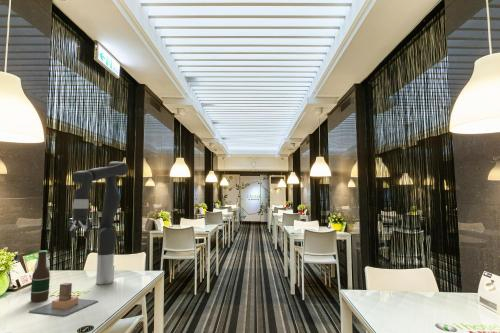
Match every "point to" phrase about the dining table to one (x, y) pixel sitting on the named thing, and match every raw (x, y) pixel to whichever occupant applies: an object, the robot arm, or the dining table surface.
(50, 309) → the socket holder
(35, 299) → the beer bottle
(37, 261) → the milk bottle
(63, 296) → the walnut peg
